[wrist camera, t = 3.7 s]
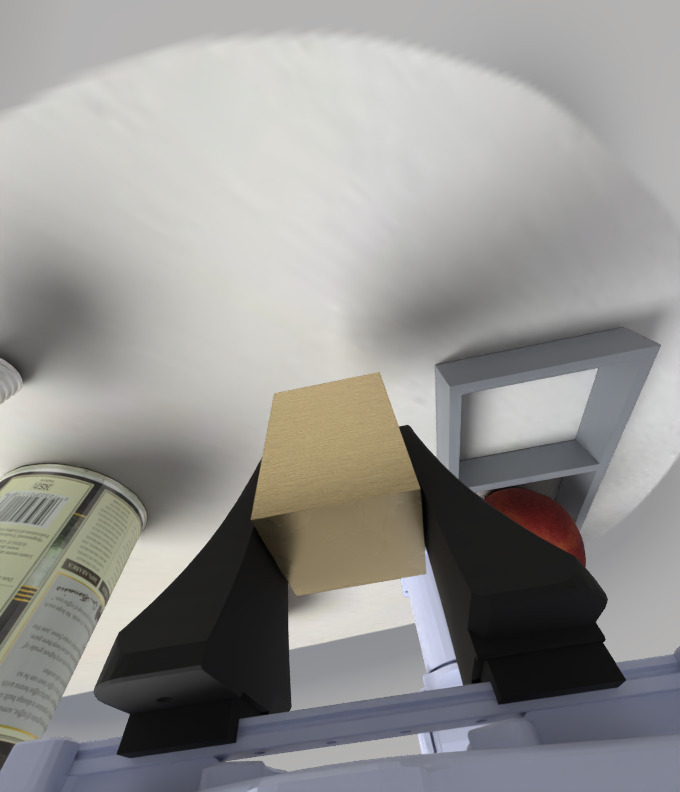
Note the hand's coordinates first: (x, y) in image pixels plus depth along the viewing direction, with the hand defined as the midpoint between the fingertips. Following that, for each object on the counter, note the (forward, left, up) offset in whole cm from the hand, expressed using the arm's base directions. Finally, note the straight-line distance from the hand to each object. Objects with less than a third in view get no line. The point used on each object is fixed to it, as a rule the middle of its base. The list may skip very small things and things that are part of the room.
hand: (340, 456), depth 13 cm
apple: (-17, -12, -8) cm, 22 cm away
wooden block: (0, 0, -2) cm, 2 cm away
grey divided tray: (-12, -12, -8) cm, 19 cm away
